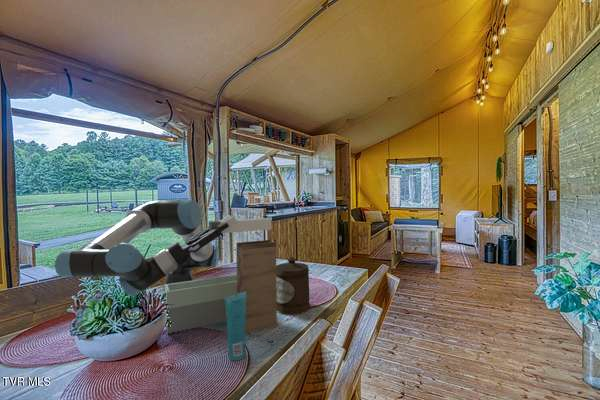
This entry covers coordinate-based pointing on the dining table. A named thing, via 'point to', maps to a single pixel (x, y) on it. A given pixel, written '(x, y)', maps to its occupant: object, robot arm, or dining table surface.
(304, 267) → the wooden container
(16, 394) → the dining table surface
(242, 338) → the tube
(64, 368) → the dining table surface
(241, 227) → the sleeve
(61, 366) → the dining table surface
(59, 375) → the dining table surface
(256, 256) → the tan tall block
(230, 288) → the tray
